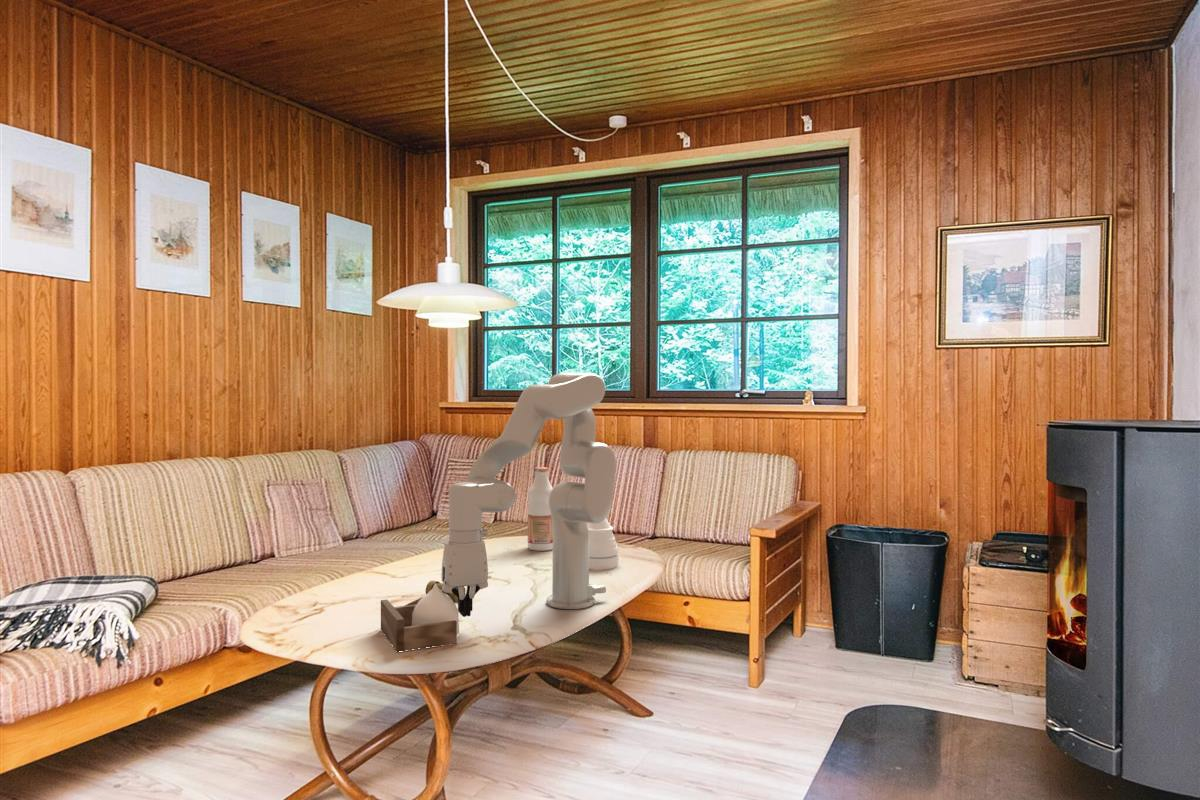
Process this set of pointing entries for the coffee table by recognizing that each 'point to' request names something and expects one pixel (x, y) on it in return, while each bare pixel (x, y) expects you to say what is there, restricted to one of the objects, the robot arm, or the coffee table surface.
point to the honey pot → (602, 546)
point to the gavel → (439, 585)
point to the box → (414, 629)
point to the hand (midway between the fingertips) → (465, 614)
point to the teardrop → (435, 609)
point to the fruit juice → (540, 512)
